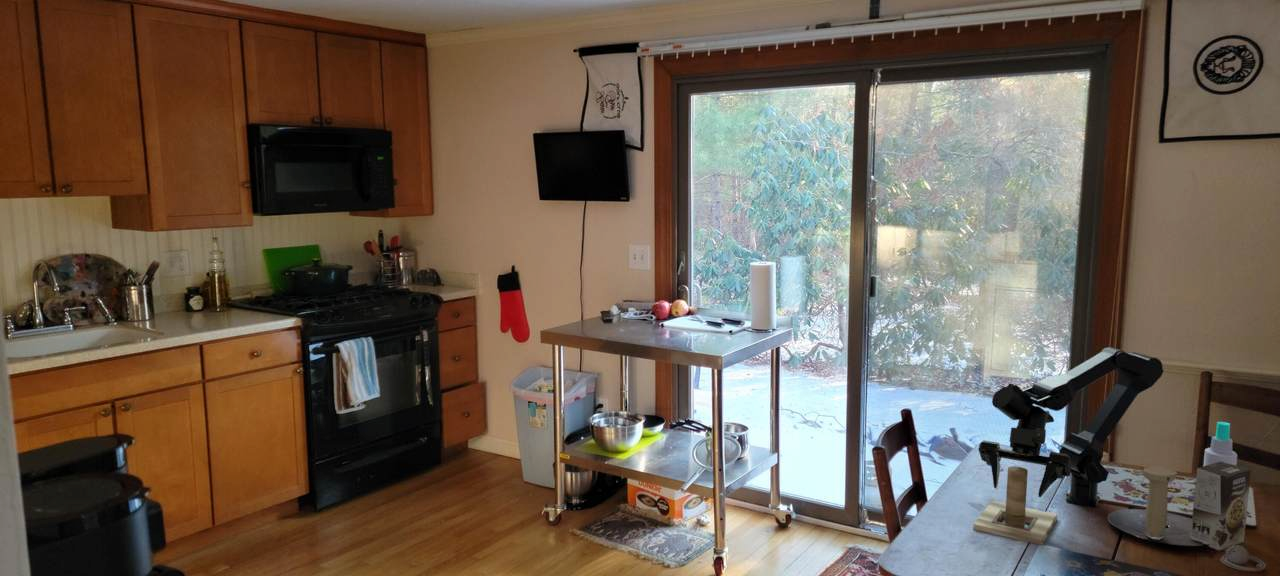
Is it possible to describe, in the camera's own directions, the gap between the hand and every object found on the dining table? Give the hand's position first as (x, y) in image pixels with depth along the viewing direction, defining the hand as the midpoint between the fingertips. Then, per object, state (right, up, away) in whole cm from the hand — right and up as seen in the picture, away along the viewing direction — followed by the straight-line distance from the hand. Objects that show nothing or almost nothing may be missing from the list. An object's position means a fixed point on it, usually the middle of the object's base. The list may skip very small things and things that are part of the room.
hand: (1016, 491), depth 192 cm
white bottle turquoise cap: (+47, -7, +5) cm, 48 cm away
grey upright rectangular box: (+39, -9, -7) cm, 41 cm away
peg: (0, -8, +1) cm, 8 cm away
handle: (+27, -9, -6) cm, 29 cm away
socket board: (+1, -8, +2) cm, 8 cm away
